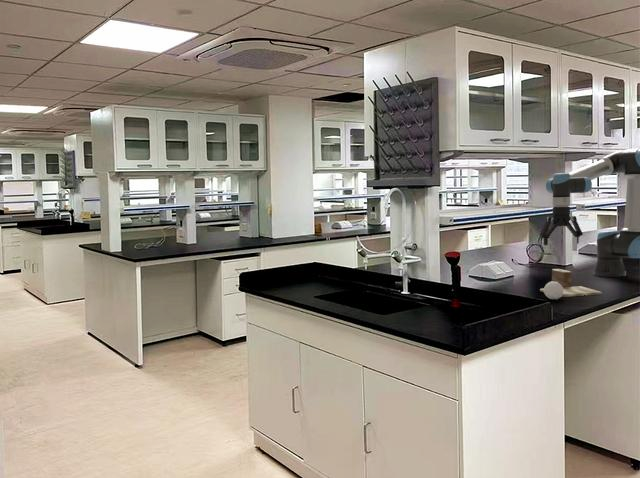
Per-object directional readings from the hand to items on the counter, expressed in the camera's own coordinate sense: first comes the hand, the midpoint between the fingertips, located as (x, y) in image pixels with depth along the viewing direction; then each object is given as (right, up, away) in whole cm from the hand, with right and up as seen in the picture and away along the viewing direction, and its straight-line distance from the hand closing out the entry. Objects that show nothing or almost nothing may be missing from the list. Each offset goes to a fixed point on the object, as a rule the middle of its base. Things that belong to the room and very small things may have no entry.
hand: (561, 251), depth 267 cm
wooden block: (+1, -17, +1) cm, 17 cm away
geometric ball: (-14, -20, -25) cm, 35 cm away
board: (-2, -18, -13) cm, 22 cm away
